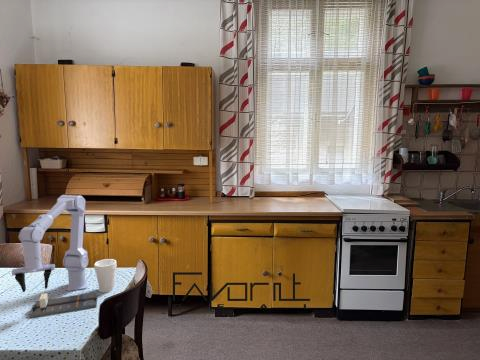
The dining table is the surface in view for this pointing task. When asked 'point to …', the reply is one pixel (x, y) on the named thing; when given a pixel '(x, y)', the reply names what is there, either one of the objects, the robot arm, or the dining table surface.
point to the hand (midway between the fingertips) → (35, 289)
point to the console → (65, 304)
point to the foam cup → (106, 274)
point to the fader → (43, 300)
